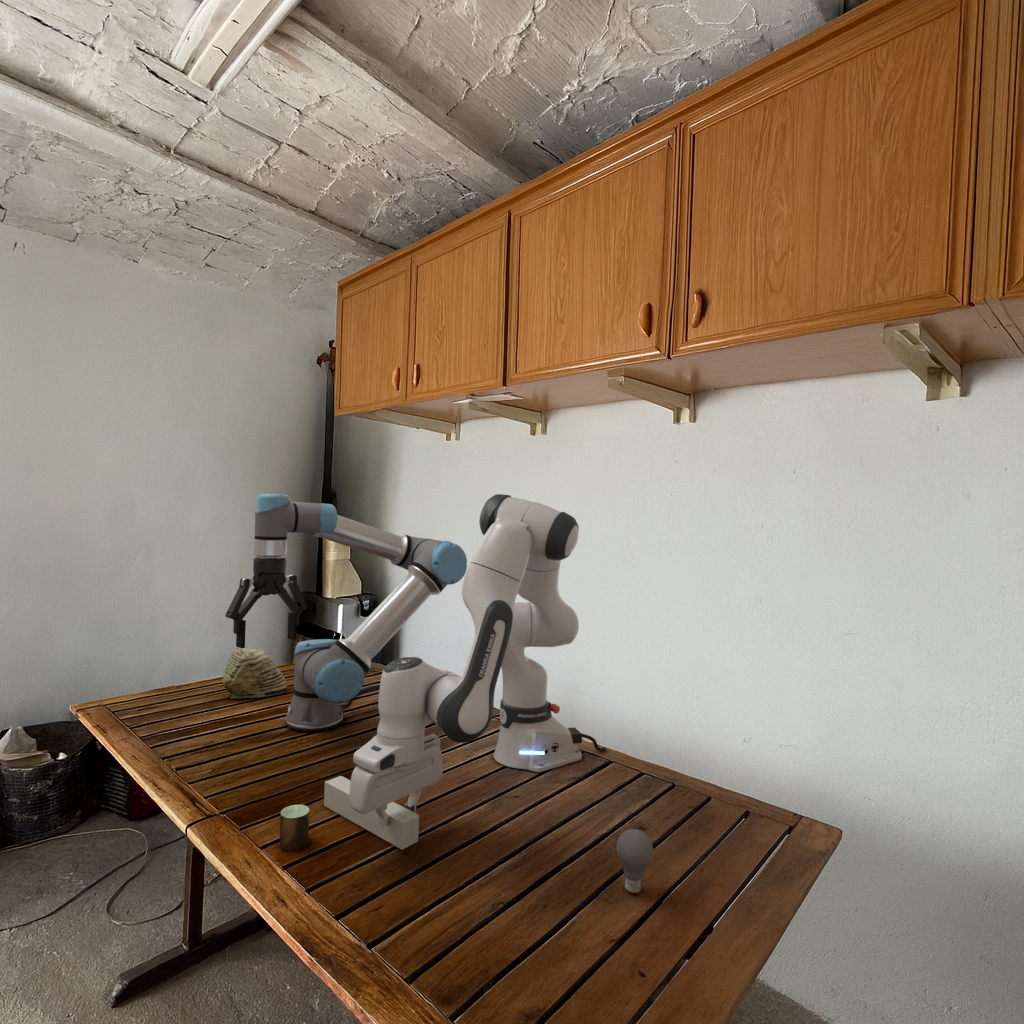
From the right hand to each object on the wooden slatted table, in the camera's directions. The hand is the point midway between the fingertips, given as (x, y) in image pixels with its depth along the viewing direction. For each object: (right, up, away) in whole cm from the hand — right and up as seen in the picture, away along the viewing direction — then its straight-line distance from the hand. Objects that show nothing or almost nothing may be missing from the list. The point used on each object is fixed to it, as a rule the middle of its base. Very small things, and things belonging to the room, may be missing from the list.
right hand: (397, 818), depth 119 cm
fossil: (-59, 0, +79) cm, 99 cm away
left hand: (-39, +25, +36) cm, 59 cm away
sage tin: (-18, -3, -3) cm, 19 cm away
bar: (-7, -3, +5) cm, 9 cm away
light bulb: (+42, -6, -13) cm, 44 cm away
